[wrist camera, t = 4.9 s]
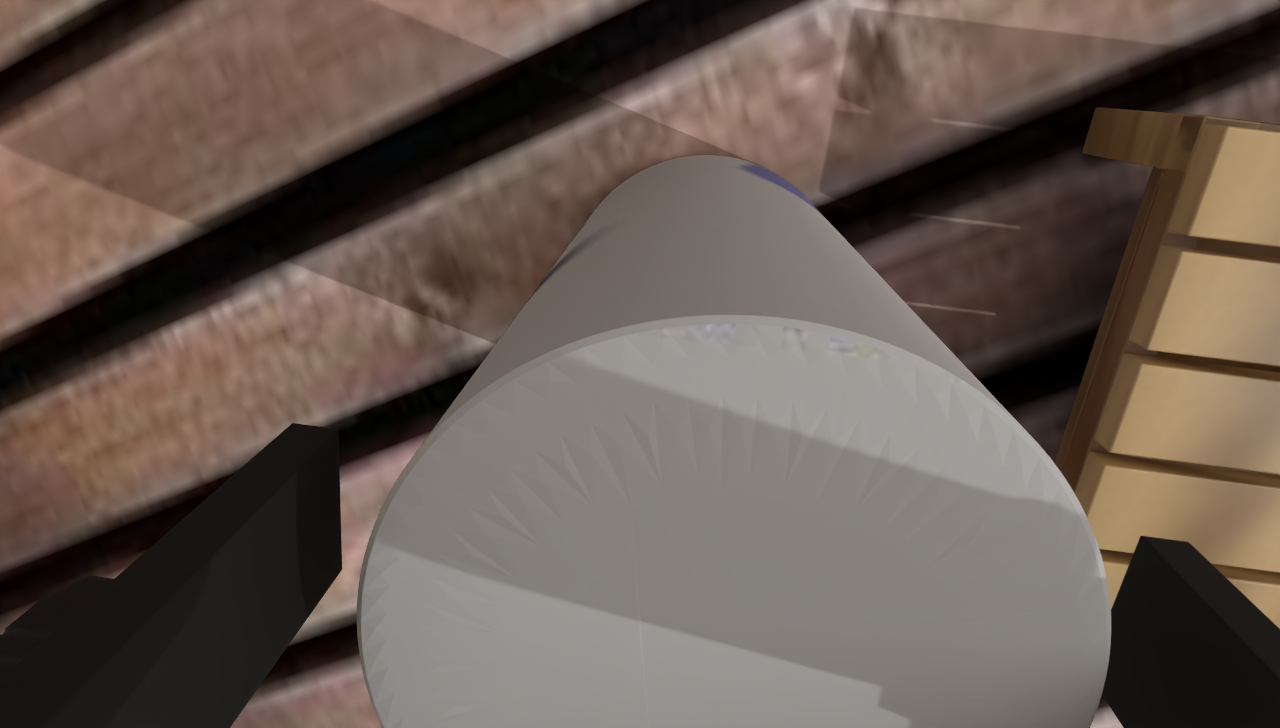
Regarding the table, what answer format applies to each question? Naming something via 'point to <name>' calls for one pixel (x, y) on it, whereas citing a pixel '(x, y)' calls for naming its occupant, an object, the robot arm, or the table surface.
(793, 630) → the container
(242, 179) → the table surface
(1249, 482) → the rack
